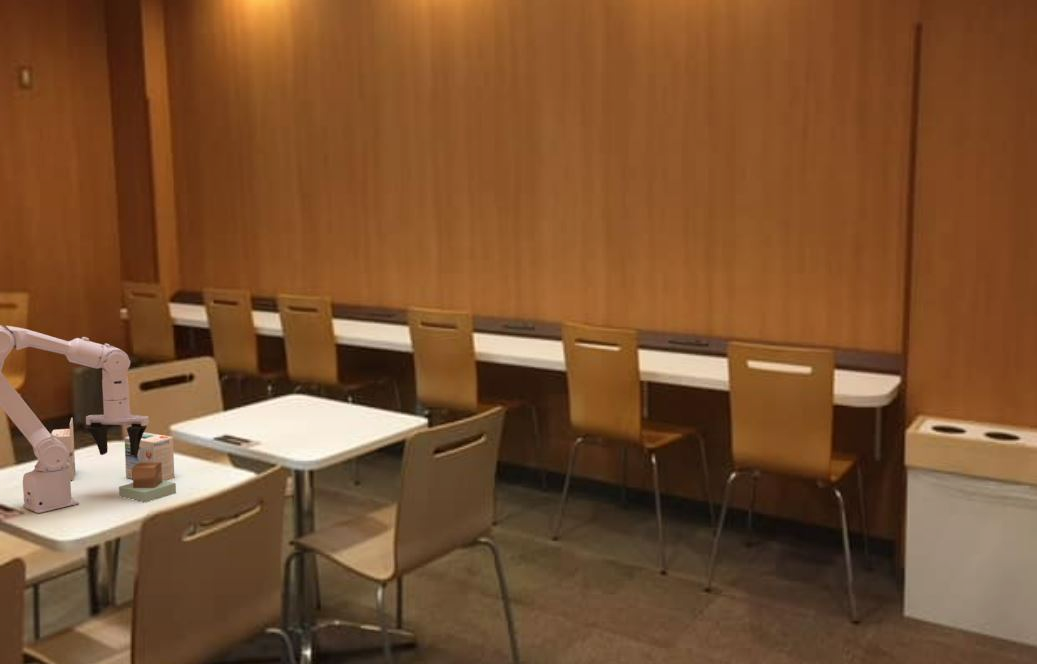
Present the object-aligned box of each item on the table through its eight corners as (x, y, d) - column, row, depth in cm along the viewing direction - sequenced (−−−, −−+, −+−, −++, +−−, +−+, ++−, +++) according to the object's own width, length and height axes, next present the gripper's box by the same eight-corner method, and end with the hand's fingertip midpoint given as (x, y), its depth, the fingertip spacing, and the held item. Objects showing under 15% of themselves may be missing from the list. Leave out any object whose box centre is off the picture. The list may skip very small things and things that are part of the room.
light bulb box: (125, 478, 241) (123, 437, 240) (146, 472, 247) (144, 431, 246) (154, 484, 236) (152, 441, 235) (175, 477, 242) (174, 436, 241)
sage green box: (144, 505, 221) (144, 492, 221) (119, 498, 226) (118, 486, 226) (176, 495, 229) (175, 483, 229) (151, 489, 234) (150, 477, 233)
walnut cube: (154, 488, 225) (153, 467, 224) (133, 487, 225) (132, 467, 224) (162, 481, 230) (161, 461, 229) (141, 481, 230) (140, 461, 229)
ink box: (55, 474, 245) (51, 418, 243) (76, 472, 247) (72, 416, 245) (52, 482, 237) (48, 425, 235) (74, 480, 239) (70, 423, 237)
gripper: (153, 395, 228) (156, 450, 230) (95, 394, 229) (98, 449, 231) (139, 401, 221) (142, 458, 223) (79, 400, 222) (83, 456, 224)
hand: (119, 454), depth 226 cm, fingers open, 7 cm apart
